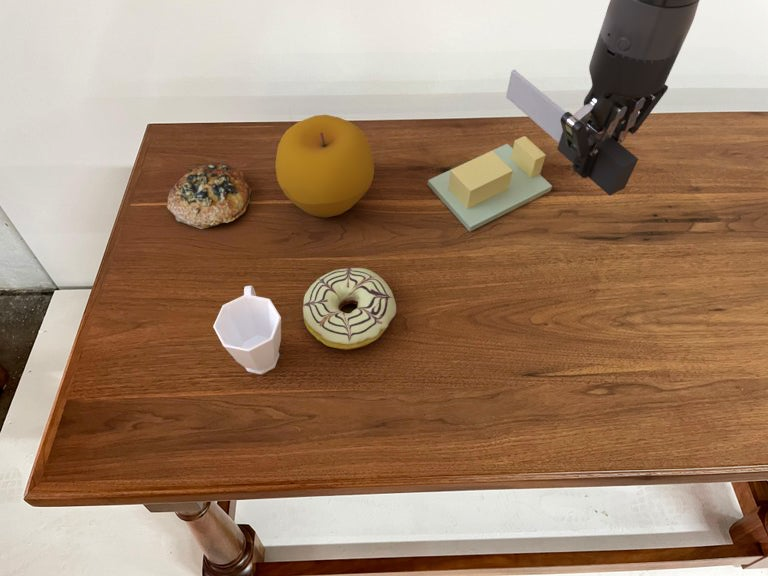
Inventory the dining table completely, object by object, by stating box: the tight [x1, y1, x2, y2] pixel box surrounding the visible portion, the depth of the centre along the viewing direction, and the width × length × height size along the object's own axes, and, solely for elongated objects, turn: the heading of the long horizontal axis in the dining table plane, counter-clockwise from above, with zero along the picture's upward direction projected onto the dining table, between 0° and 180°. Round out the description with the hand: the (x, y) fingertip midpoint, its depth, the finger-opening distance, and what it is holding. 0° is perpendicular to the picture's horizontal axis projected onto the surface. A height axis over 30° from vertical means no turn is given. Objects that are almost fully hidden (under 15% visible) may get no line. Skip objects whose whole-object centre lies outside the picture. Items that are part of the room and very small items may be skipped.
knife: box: [505, 69, 639, 197], centre depth 72 cm, size 2×20×4 cm, turn 32°
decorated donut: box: [302, 267, 397, 350], centre depth 71 cm, size 10×11×4 cm
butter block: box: [448, 150, 513, 209], centre depth 81 cm, size 4×7×4 cm, turn 122°
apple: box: [274, 114, 375, 219], centre depth 78 cm, size 13×13×11 cm
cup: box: [212, 284, 282, 375], centre depth 67 cm, size 7×10×8 cm
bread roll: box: [166, 162, 252, 230], centre depth 81 cm, size 11×11×5 cm
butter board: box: [427, 143, 553, 232], centre depth 84 cm, size 10×14×1 cm
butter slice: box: [511, 135, 546, 178], centre depth 84 cm, size 4×2×4 cm, turn 32°
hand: (590, 168), depth 71 cm, fingers closed on knife, 2 cm apart
